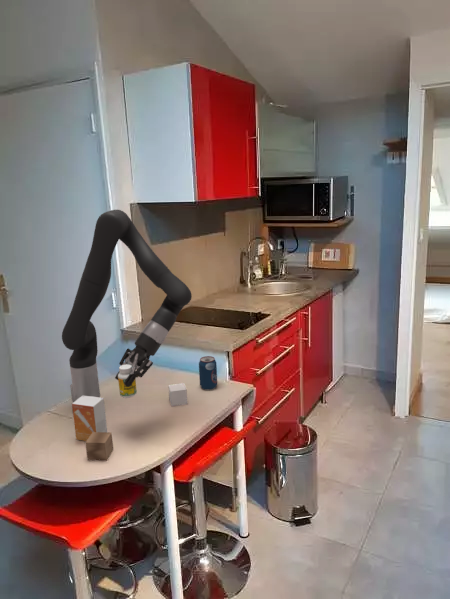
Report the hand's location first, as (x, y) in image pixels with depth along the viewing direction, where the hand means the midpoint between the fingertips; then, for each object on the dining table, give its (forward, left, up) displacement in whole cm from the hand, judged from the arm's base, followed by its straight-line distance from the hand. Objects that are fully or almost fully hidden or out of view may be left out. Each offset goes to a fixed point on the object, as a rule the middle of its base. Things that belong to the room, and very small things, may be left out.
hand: (121, 382), depth 151 cm
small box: (-11, -4, -19) cm, 22 cm away
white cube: (+5, +27, -19) cm, 34 cm away
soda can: (+11, +42, -19) cm, 48 cm away
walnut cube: (-2, -12, -19) cm, 22 cm away
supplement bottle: (+1, +2, -5) cm, 5 cm away
